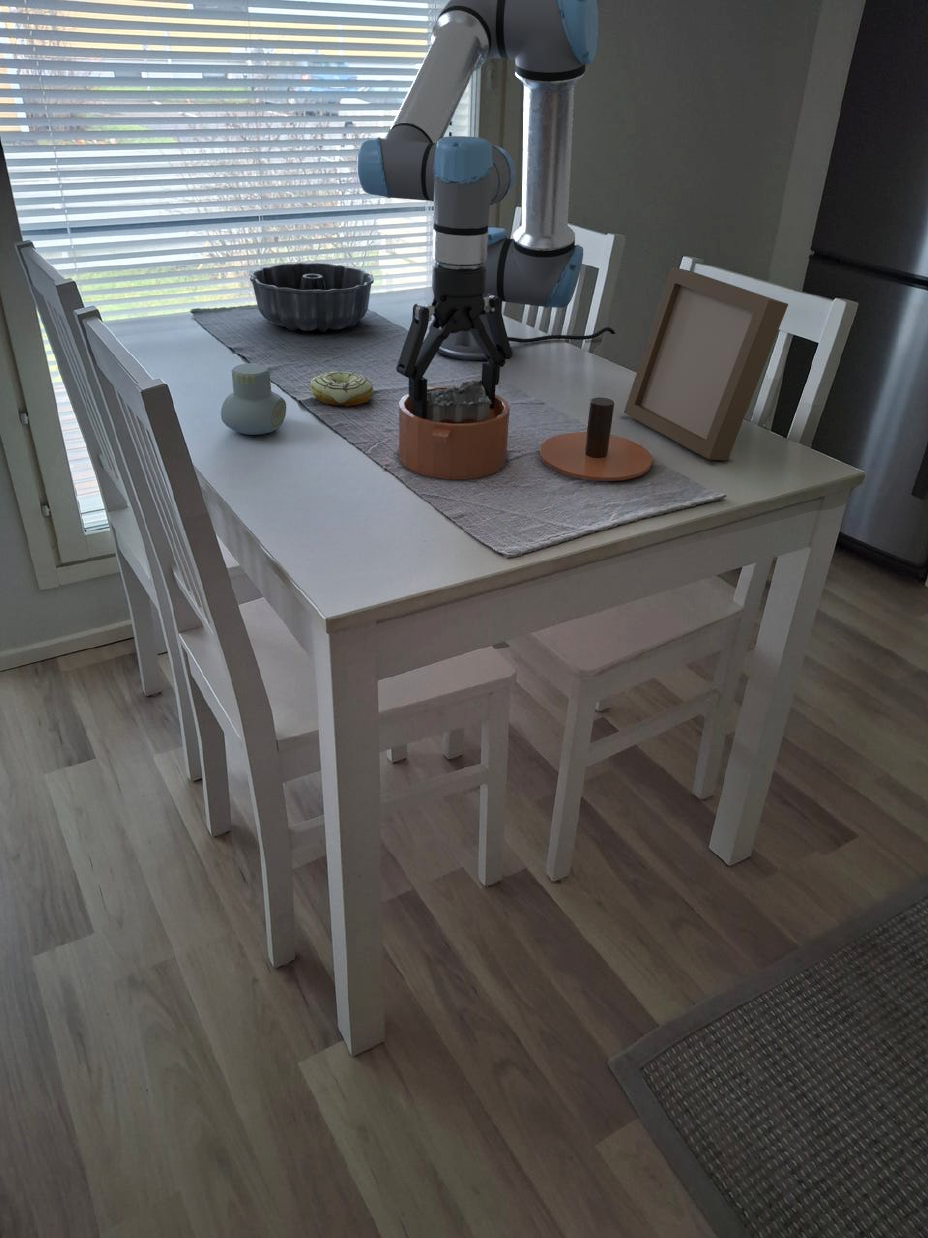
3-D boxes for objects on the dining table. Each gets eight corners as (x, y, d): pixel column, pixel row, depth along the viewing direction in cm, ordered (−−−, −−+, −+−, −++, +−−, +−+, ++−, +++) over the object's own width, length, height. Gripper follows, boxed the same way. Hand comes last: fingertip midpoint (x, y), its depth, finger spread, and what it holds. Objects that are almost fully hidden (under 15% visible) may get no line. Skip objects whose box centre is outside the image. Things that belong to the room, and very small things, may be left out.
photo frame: (707, 465, 143) (740, 303, 129) (622, 418, 159) (644, 268, 145) (775, 449, 150) (813, 294, 136) (687, 406, 165) (714, 262, 151)
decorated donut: (345, 413, 155) (344, 392, 153) (299, 399, 160) (298, 378, 158) (384, 397, 162) (383, 376, 160) (339, 383, 167) (338, 363, 165)
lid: (652, 445, 149) (661, 388, 144) (650, 490, 134) (660, 428, 129) (545, 433, 151) (551, 377, 146) (532, 476, 137) (538, 415, 131)
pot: (514, 436, 150) (518, 386, 145) (493, 492, 132) (497, 437, 127) (416, 425, 152) (417, 376, 147) (382, 479, 134) (382, 425, 129)
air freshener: (267, 444, 143) (262, 382, 137) (218, 438, 144) (211, 377, 138) (291, 419, 152) (287, 360, 146) (244, 414, 153) (238, 355, 147)
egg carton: (482, 404, 142) (484, 379, 140) (492, 422, 136) (494, 396, 134) (415, 405, 140) (416, 379, 138) (422, 424, 134) (422, 397, 132)
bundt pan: (329, 300, 216) (327, 256, 210) (398, 326, 200) (398, 279, 194) (230, 317, 200) (226, 270, 195) (298, 347, 184) (295, 296, 179)
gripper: (512, 250, 134) (502, 392, 146) (370, 265, 122) (372, 418, 134) (543, 260, 129) (531, 407, 141) (399, 277, 117) (398, 435, 129)
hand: (454, 412), depth 138 cm, fingers closed on egg carton, 12 cm apart
